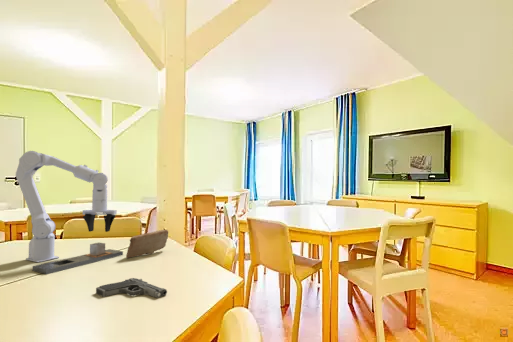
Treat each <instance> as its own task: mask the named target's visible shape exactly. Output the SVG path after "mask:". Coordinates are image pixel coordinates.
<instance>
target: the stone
mask: <svg viewBox="0 0 513 342" xmlns="http://www.w3.org/2000/svg"><path fill="white" fill-rule="evenodd" d="M168 238H169V230H168V229H160V230H159V229H158V230H155V231H151V232H148V233H147V232H146V233H142V234H138V235H134V236H131V238H130V239H129V246H128V248H127V252H126V255H125V256H126V259H129V258H133V257H139V256H144V255H153V254H154V253H155V252H157V251H159V250H163V249H164V248H165V247H166V245H167V242H168Z"/></svg>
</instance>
